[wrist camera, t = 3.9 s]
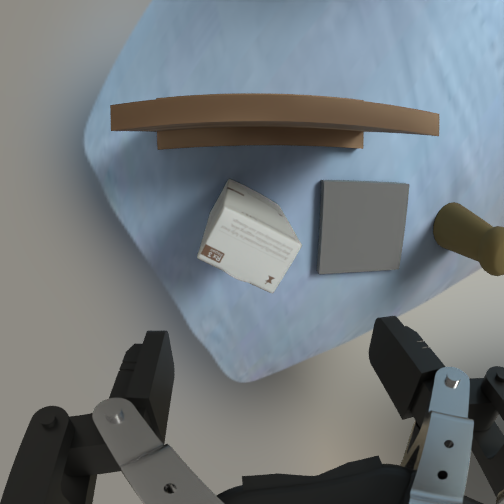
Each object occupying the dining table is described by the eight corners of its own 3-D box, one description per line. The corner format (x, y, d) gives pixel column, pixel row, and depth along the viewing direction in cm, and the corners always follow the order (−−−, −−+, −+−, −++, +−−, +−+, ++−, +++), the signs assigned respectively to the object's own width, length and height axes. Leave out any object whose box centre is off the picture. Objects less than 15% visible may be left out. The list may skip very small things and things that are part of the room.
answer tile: (321, 179, 32) (324, 181, 31) (404, 183, 33) (409, 184, 32) (316, 270, 35) (319, 274, 35) (395, 266, 36) (398, 269, 35)
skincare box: (280, 204, 33) (310, 243, 21) (259, 241, 34) (276, 297, 22) (226, 175, 31) (226, 200, 20) (205, 215, 32) (195, 260, 21)
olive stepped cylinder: (429, 248, 36) (484, 287, 26) (436, 201, 34) (497, 228, 23) (463, 247, 36) (517, 282, 26) (470, 203, 34) (529, 229, 24)
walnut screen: (158, 99, 28) (110, 76, 15) (359, 101, 29) (438, 88, 16) (160, 149, 30) (112, 161, 17) (358, 147, 31) (437, 162, 18)
